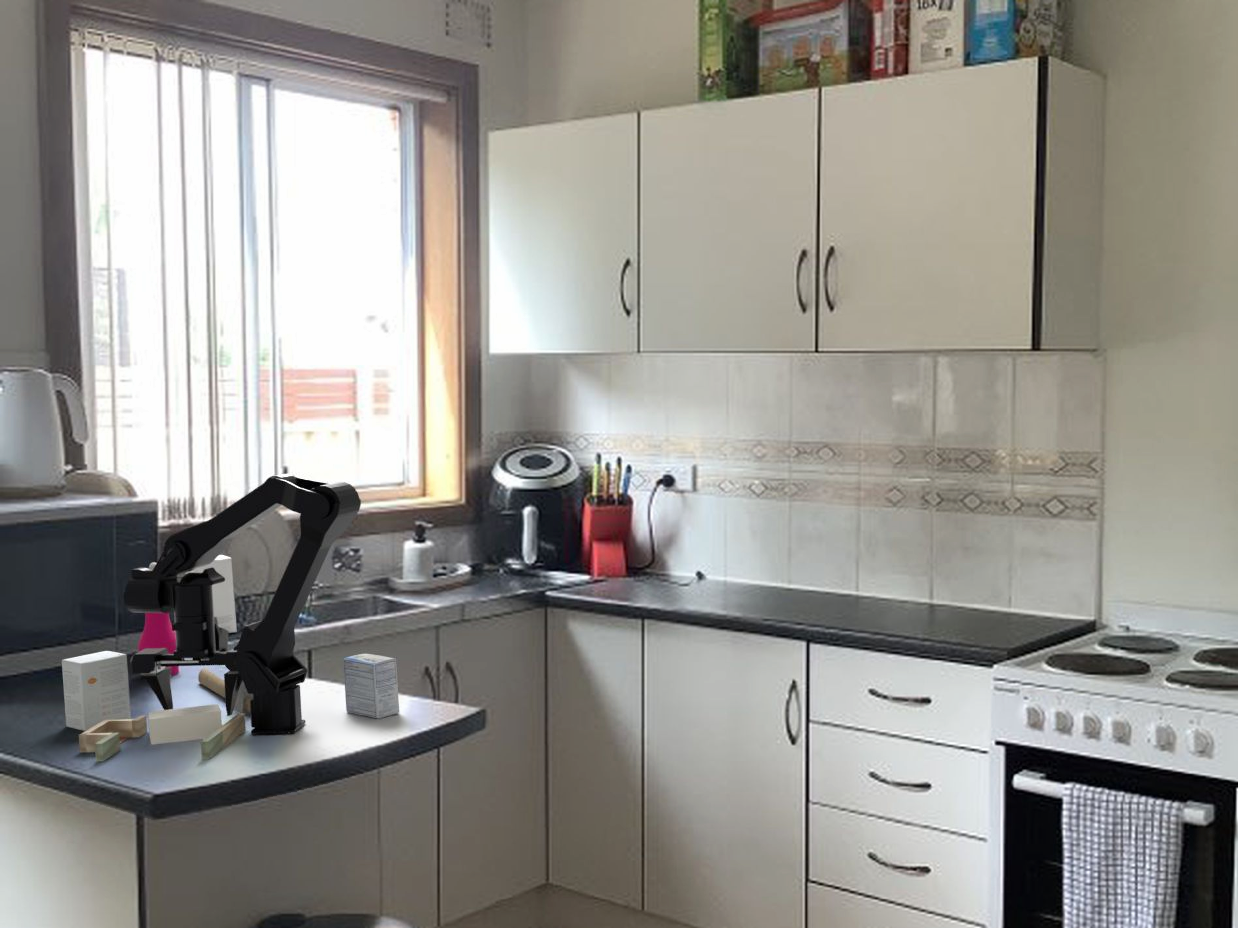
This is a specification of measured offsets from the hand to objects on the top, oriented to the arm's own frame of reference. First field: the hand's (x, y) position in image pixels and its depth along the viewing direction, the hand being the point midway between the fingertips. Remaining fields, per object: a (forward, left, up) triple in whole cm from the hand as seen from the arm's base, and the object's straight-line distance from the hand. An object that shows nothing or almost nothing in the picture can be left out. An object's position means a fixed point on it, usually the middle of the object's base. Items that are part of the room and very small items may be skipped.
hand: (200, 715), depth 224 cm
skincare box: (+25, -78, -2) cm, 82 cm away
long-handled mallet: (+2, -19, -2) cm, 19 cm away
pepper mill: (+21, -39, -2) cm, 44 cm away
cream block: (0, +6, -2) cm, 6 cm away
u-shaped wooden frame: (+2, +11, -1) cm, 12 cm away
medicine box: (-25, -6, -2) cm, 26 cm away
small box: (+17, -3, -2) cm, 17 cm away
